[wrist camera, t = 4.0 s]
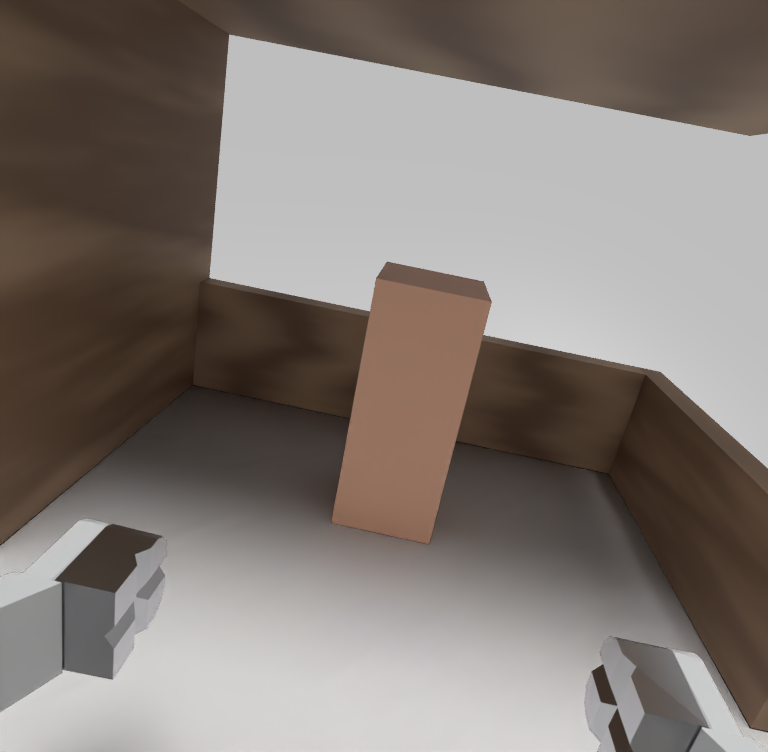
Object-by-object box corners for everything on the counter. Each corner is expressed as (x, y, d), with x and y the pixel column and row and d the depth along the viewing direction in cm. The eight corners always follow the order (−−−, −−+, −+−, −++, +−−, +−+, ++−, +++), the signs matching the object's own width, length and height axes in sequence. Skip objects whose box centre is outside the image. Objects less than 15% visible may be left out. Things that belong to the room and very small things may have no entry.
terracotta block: (331, 522, 23) (376, 278, 19) (347, 473, 27) (386, 261, 23) (429, 544, 23) (491, 302, 19) (431, 492, 26) (483, 281, 23)
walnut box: (-50, 547, 18) (-122, -231, 11) (181, 373, 34) (206, 6, 27) (790, 736, 17) (1226, 18, 11) (623, 467, 33) (758, 112, 26)
